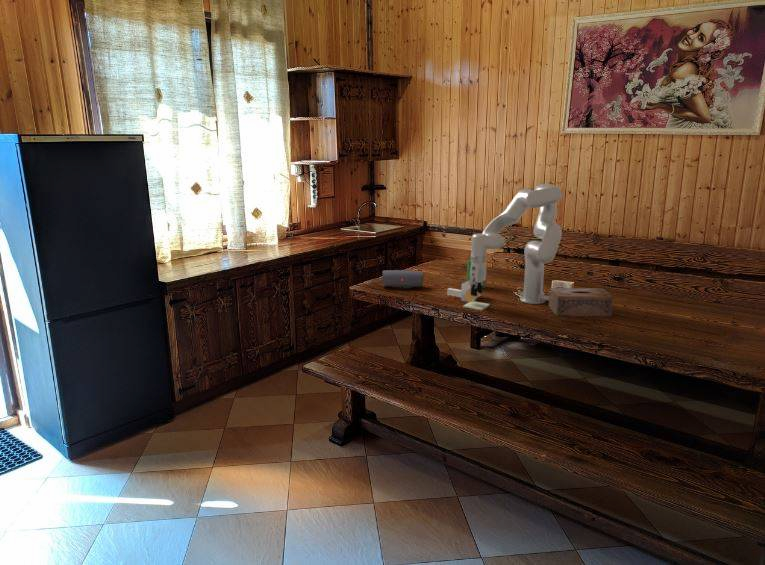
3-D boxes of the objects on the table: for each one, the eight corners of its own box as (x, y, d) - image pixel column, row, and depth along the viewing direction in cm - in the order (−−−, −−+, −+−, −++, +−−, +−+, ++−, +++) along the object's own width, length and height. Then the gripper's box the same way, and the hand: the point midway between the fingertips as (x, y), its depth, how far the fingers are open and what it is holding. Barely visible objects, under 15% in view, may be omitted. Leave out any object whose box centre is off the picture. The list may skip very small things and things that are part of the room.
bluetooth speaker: (381, 289, 308) (381, 271, 305) (383, 284, 317) (383, 268, 314) (422, 290, 305) (422, 273, 303) (423, 286, 314) (423, 269, 312)
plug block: (480, 293, 276) (473, 286, 278) (475, 295, 272) (468, 289, 274) (474, 300, 279) (467, 293, 280) (470, 302, 275) (463, 295, 276)
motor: (484, 285, 315) (485, 251, 310) (485, 289, 307) (487, 254, 301) (466, 284, 316) (467, 250, 311) (467, 289, 308) (468, 254, 302)
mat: (489, 305, 278) (489, 304, 277) (481, 310, 270) (481, 309, 269) (471, 302, 283) (471, 300, 283) (463, 307, 275) (463, 305, 275)
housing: (480, 296, 294) (481, 280, 291) (469, 302, 283) (470, 285, 281) (471, 294, 296) (472, 278, 294) (460, 300, 286) (461, 283, 284)
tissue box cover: (600, 307, 275) (602, 288, 272) (610, 316, 261) (613, 296, 258) (548, 307, 276) (550, 288, 273) (556, 316, 262) (558, 296, 259)
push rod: (474, 298, 290) (474, 292, 289) (472, 299, 288) (472, 293, 287) (449, 294, 298) (449, 288, 297) (447, 295, 296) (447, 289, 295)
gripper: (478, 262, 261) (475, 299, 266) (492, 257, 275) (490, 291, 279) (463, 260, 265) (461, 296, 270) (478, 255, 279) (476, 289, 283)
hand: (476, 293), depth 275 cm, fingers closed on plug block, 4 cm apart
